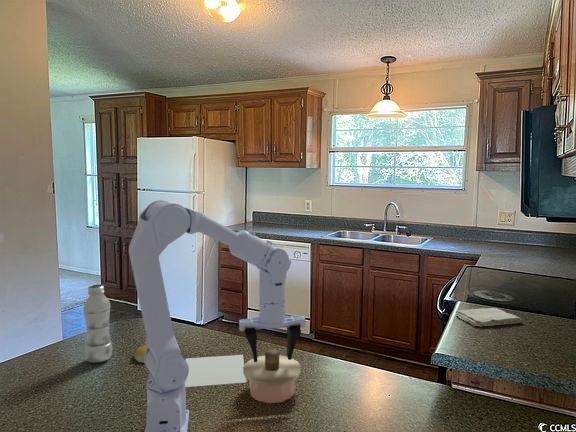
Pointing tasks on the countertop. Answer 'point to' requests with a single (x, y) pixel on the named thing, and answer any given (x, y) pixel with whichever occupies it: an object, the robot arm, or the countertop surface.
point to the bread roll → (140, 354)
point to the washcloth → (486, 315)
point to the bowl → (272, 392)
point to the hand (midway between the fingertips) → (272, 359)
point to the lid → (272, 369)
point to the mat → (215, 371)
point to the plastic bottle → (97, 325)
